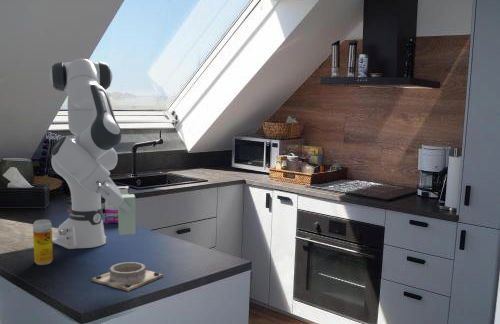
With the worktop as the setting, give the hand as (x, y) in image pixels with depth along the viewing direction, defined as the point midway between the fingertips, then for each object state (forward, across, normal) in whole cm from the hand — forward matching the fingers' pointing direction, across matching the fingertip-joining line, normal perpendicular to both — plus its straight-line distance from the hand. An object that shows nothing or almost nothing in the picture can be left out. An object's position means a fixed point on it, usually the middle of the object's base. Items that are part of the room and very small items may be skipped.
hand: (128, 208), depth 174 cm
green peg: (+5, 0, +6) cm, 8 cm away
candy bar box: (+18, +78, +15) cm, 82 cm away
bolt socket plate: (+16, 0, +17) cm, 23 cm away
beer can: (-3, +24, +36) cm, 44 cm away
